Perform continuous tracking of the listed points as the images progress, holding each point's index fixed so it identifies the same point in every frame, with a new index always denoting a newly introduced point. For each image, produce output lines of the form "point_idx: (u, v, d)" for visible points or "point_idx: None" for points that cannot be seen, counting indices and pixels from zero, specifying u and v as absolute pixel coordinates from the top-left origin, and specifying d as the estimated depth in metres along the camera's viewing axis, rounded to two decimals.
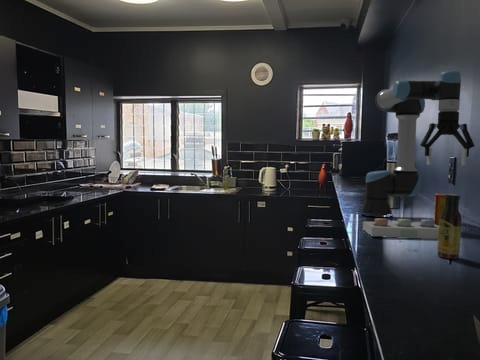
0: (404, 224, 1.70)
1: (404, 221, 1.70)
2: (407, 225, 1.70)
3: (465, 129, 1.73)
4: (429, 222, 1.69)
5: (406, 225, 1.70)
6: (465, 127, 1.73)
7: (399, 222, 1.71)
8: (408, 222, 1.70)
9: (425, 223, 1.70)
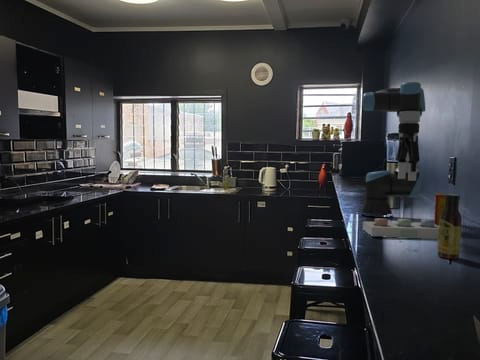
0: (404, 224, 1.70)
1: (404, 221, 1.70)
2: (407, 225, 1.70)
3: (410, 141, 1.64)
4: (429, 222, 1.69)
5: (406, 225, 1.70)
6: (410, 139, 1.64)
7: (399, 222, 1.71)
8: (408, 222, 1.70)
9: (425, 223, 1.70)
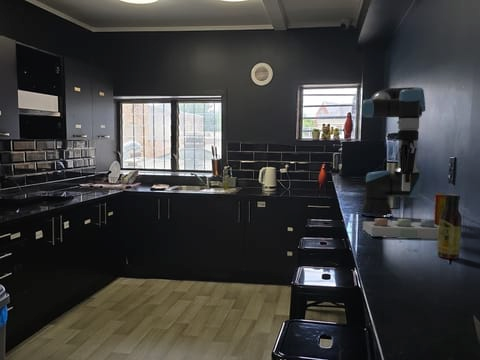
0: (404, 224, 1.70)
1: (404, 221, 1.70)
2: (407, 225, 1.70)
3: (408, 152, 1.66)
4: (429, 222, 1.69)
5: (406, 225, 1.70)
6: (408, 151, 1.65)
7: (399, 222, 1.71)
8: (408, 222, 1.70)
9: (425, 223, 1.70)
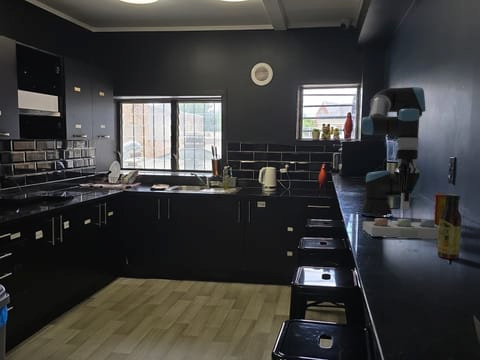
0: (404, 224, 1.70)
1: (404, 221, 1.70)
2: (407, 225, 1.70)
3: (407, 172, 1.66)
4: (429, 222, 1.69)
5: (406, 225, 1.70)
6: (408, 170, 1.66)
7: (399, 222, 1.71)
8: (408, 222, 1.70)
9: (425, 223, 1.70)
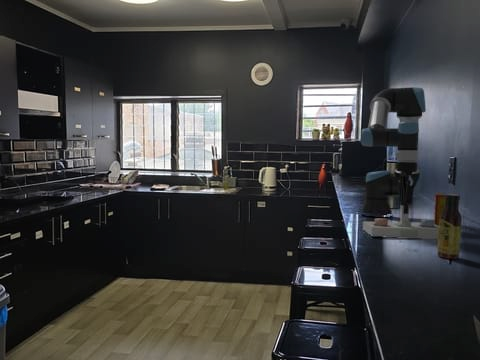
0: None
1: (404, 224, 1.70)
2: None
3: (407, 185, 1.67)
4: (429, 222, 1.69)
5: None
6: (407, 183, 1.66)
7: (399, 225, 1.71)
8: (408, 225, 1.70)
9: (425, 223, 1.70)
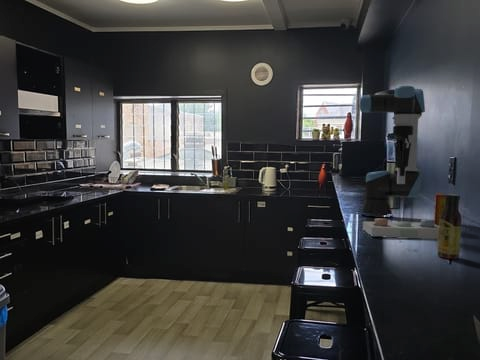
0: None
1: (404, 224, 1.70)
2: None
3: (403, 147, 1.72)
4: (429, 222, 1.69)
5: None
6: (403, 146, 1.72)
7: (399, 225, 1.71)
8: (408, 225, 1.70)
9: (425, 223, 1.70)
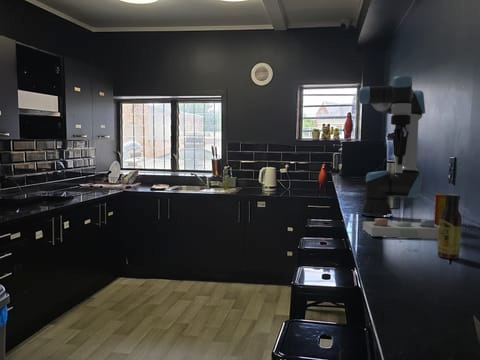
0: None
1: (404, 224, 1.70)
2: None
3: (400, 136, 1.75)
4: (429, 222, 1.69)
5: None
6: (401, 134, 1.74)
7: (399, 225, 1.71)
8: (408, 225, 1.70)
9: (425, 223, 1.70)
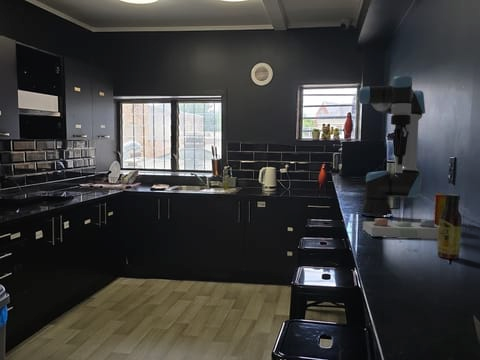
0: None
1: (404, 224, 1.70)
2: None
3: (400, 136, 1.75)
4: (429, 222, 1.69)
5: None
6: (401, 134, 1.74)
7: (399, 225, 1.71)
8: (408, 225, 1.70)
9: (425, 223, 1.70)
